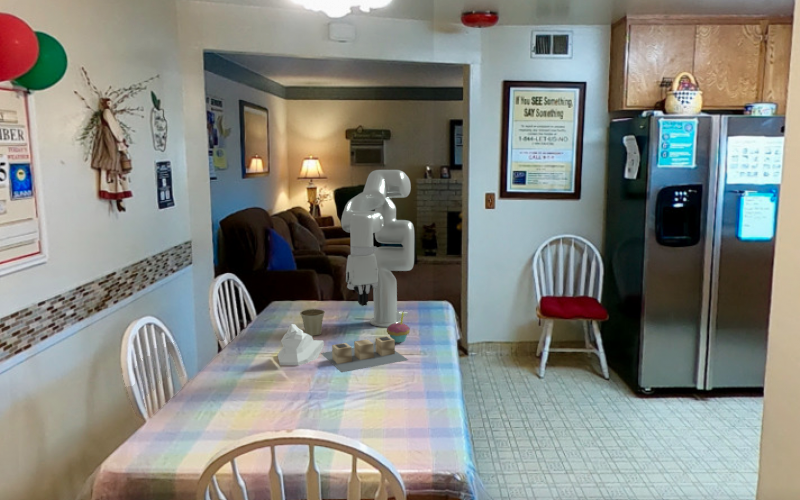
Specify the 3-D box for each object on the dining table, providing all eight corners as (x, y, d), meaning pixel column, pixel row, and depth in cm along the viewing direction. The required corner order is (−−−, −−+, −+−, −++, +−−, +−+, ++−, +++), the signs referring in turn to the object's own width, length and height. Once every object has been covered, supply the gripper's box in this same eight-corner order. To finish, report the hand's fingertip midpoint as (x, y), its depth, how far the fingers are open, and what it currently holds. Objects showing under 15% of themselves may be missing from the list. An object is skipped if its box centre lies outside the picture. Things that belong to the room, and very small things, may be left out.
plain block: (367, 353, 203) (367, 339, 202) (373, 357, 199) (373, 343, 198) (354, 355, 201) (354, 341, 200) (360, 360, 196) (359, 345, 196)
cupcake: (410, 338, 220) (410, 307, 218) (408, 345, 212) (408, 314, 210) (388, 337, 221) (387, 307, 219) (385, 345, 213) (384, 313, 211)
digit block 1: (346, 356, 199) (345, 342, 199) (351, 361, 195) (351, 346, 194) (332, 359, 197) (332, 344, 196) (337, 363, 193) (337, 348, 192)
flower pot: (323, 337, 222) (322, 315, 221) (298, 337, 222) (298, 315, 221) (327, 330, 231) (326, 309, 230) (303, 330, 231) (302, 309, 230)
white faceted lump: (314, 372, 191) (306, 335, 186) (272, 373, 195) (262, 337, 189) (325, 351, 203) (317, 315, 197) (285, 351, 206) (276, 317, 200)
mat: (383, 344, 214) (383, 342, 214) (408, 361, 196) (408, 359, 196) (321, 354, 203) (321, 353, 203) (341, 374, 186) (341, 372, 186)
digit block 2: (388, 349, 206) (388, 335, 206) (394, 353, 202) (394, 339, 201) (375, 351, 204) (375, 337, 203) (381, 356, 200) (381, 341, 199)
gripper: (377, 247, 200) (378, 299, 203) (336, 251, 193) (338, 304, 196) (387, 250, 193) (387, 304, 196) (344, 254, 187) (346, 310, 190)
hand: (362, 304), depth 196 cm, fingers closed
